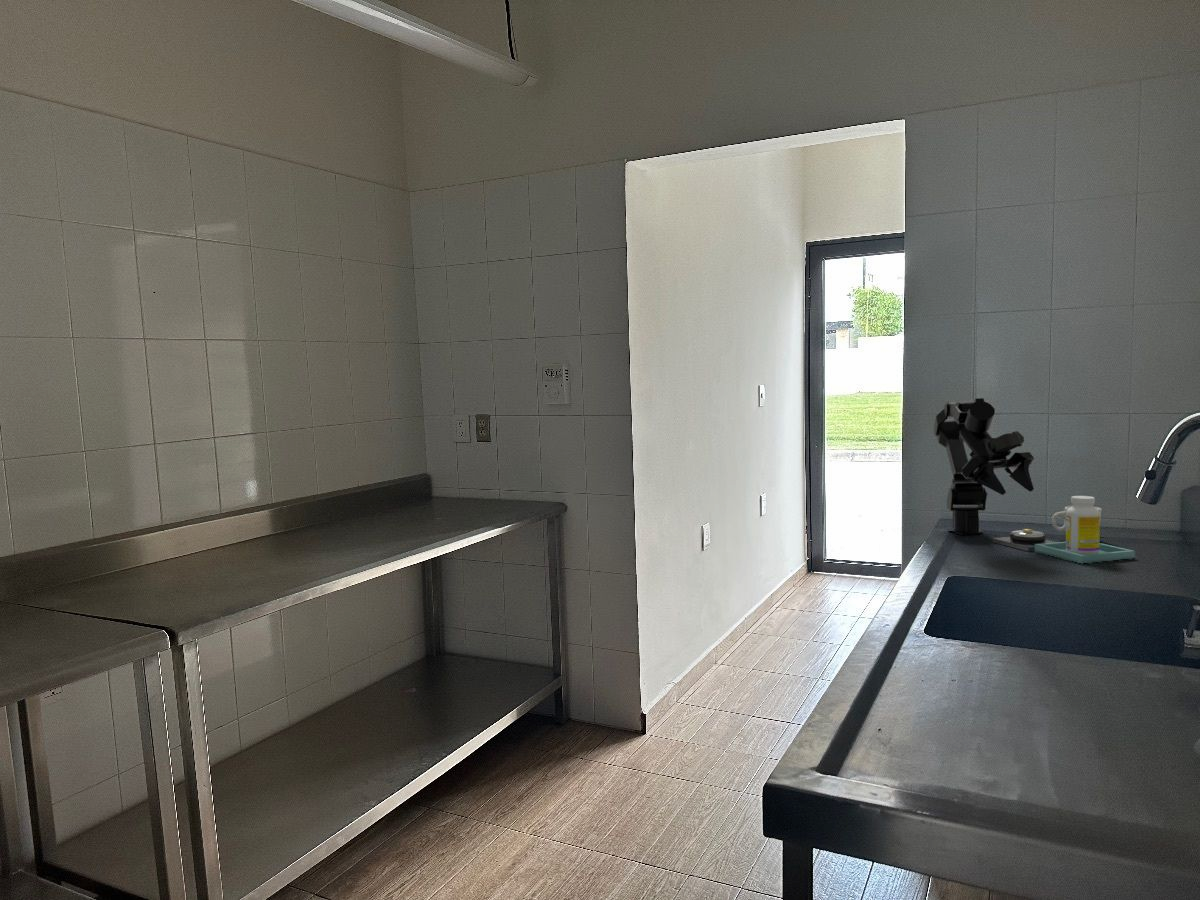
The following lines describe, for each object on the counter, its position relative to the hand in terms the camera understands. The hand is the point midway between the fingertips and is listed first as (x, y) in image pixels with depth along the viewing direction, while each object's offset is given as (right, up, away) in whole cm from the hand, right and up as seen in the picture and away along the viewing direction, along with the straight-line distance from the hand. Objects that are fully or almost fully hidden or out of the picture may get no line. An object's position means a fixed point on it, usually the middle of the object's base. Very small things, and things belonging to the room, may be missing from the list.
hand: (1018, 492), depth 202 cm
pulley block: (+4, -13, +5) cm, 15 cm away
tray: (+11, -14, -8) cm, 19 cm away
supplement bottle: (+11, -14, -8) cm, 19 cm away
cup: (+19, -13, +9) cm, 24 cm away
